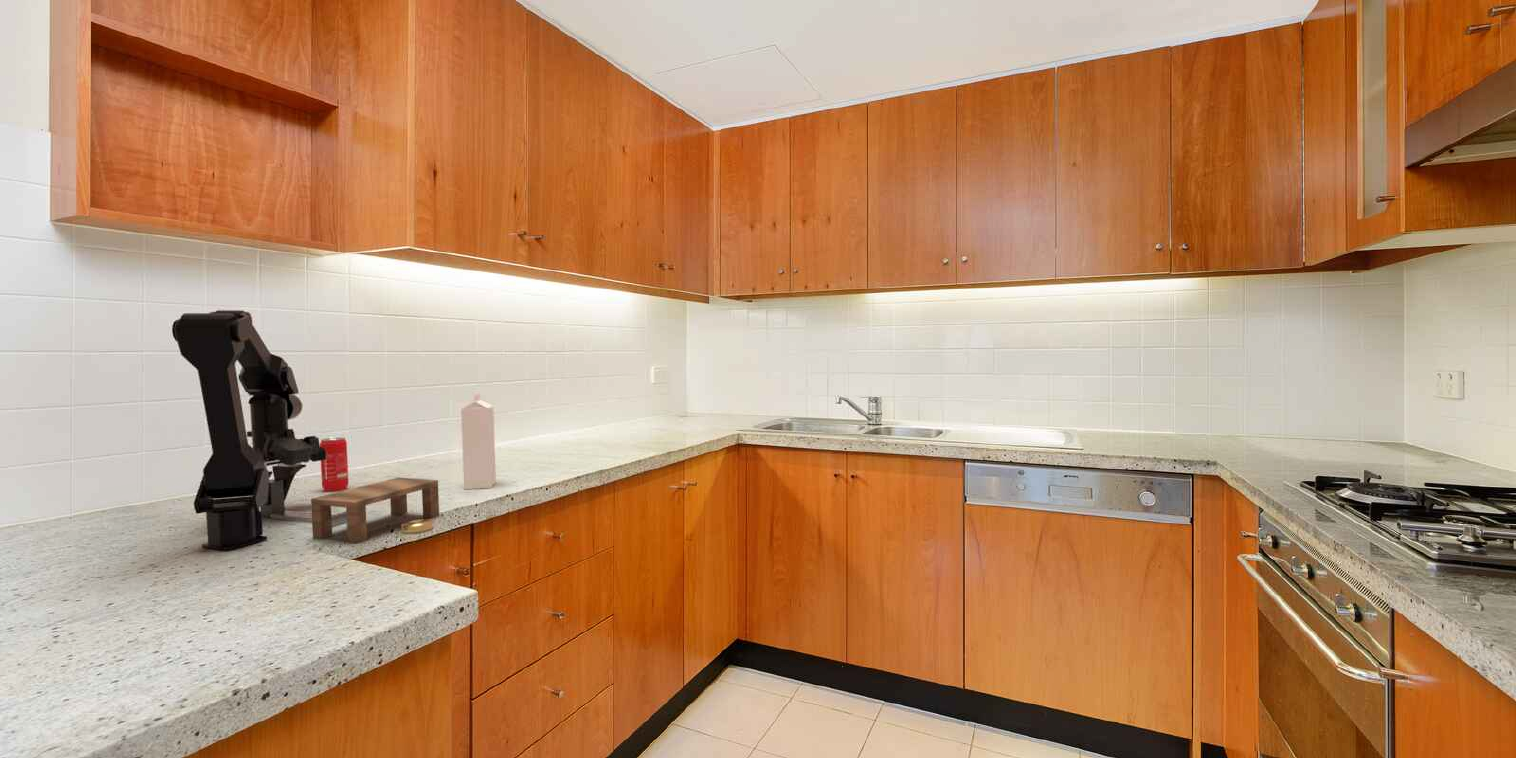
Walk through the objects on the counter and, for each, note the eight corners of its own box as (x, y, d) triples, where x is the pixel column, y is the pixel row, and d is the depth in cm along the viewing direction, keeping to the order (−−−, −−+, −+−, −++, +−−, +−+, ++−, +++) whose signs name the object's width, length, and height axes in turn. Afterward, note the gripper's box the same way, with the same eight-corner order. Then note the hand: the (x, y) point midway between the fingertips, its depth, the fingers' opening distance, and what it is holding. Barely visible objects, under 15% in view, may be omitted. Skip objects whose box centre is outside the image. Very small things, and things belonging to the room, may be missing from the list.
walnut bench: (356, 543, 107) (354, 502, 107) (312, 538, 110) (310, 498, 110) (439, 515, 124) (437, 480, 124) (399, 511, 127) (398, 477, 127)
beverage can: (327, 493, 144) (324, 441, 144) (318, 490, 148) (316, 439, 147) (352, 488, 149) (350, 438, 148) (343, 486, 152) (341, 436, 151)
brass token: (418, 535, 111) (418, 526, 111) (395, 534, 113) (394, 525, 113) (439, 527, 116) (438, 519, 116) (416, 526, 117) (415, 518, 117)
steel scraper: (330, 527, 117) (328, 489, 116) (251, 519, 123) (249, 483, 122) (359, 518, 123) (358, 482, 122) (283, 511, 129) (281, 477, 128)
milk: (496, 483, 154) (493, 392, 152) (491, 488, 148) (488, 394, 147) (469, 484, 152) (466, 393, 151) (463, 489, 146) (460, 395, 145)
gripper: (248, 433, 113) (253, 518, 114) (344, 420, 131) (348, 494, 131) (205, 431, 116) (210, 514, 117) (304, 419, 134) (308, 491, 135)
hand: (274, 503), depth 125 cm, fingers open, 3 cm apart
